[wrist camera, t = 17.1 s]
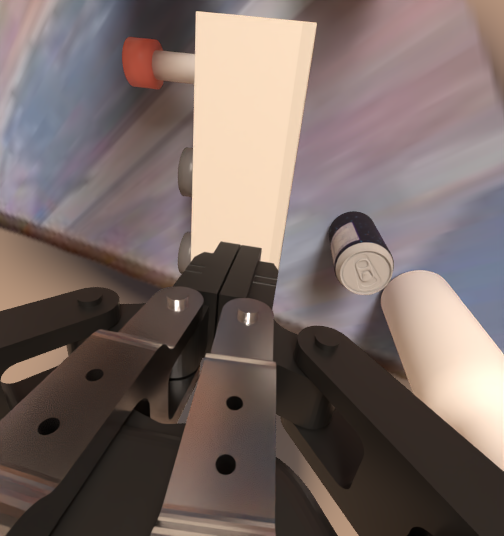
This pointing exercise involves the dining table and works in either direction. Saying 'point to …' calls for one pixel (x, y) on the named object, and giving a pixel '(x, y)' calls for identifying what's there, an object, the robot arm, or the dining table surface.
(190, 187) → the knob
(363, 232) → the beverage can
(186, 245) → the knob
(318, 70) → the dining table surface
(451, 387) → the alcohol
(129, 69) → the red knob
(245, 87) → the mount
